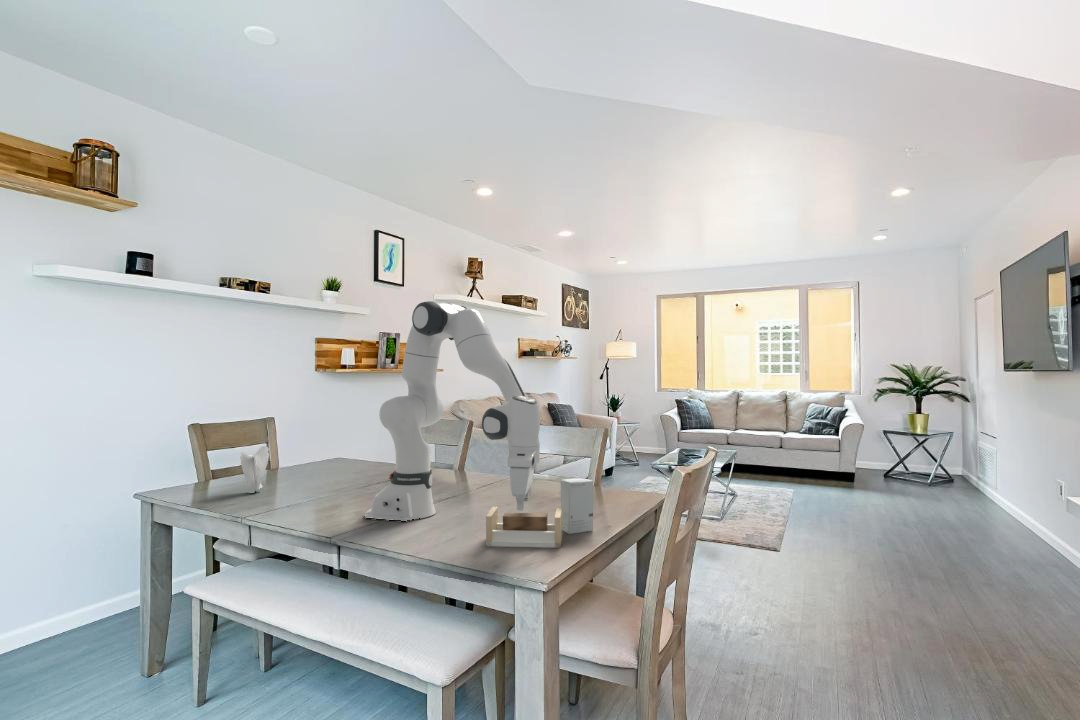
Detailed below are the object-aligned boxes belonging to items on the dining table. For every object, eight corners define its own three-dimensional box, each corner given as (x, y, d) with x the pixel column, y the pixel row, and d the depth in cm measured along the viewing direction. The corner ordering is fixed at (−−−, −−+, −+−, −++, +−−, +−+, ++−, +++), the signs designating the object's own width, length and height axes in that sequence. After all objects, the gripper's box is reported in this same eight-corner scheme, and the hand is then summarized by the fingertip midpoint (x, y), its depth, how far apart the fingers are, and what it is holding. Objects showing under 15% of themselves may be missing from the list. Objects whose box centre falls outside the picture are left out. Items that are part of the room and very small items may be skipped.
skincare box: (569, 534, 156) (568, 482, 156) (559, 529, 162) (559, 478, 162) (594, 531, 160) (594, 480, 160) (584, 525, 165) (584, 476, 165)
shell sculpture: (237, 495, 209) (237, 447, 209) (252, 490, 217) (251, 444, 217) (256, 495, 207) (256, 448, 208) (270, 490, 216) (270, 445, 216)
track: (486, 546, 147) (486, 516, 147) (492, 534, 157) (492, 506, 157) (560, 547, 145) (560, 517, 145) (562, 536, 155) (562, 507, 155)
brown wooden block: (502, 538, 150) (502, 516, 150) (504, 534, 153) (504, 512, 154) (546, 539, 149) (546, 516, 149) (547, 535, 152) (547, 513, 152)
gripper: (517, 448, 162) (516, 495, 162) (506, 461, 142) (505, 514, 142) (538, 449, 161) (538, 496, 161) (530, 462, 141) (529, 515, 141)
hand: (522, 505), depth 151 cm, fingers open, 8 cm apart
